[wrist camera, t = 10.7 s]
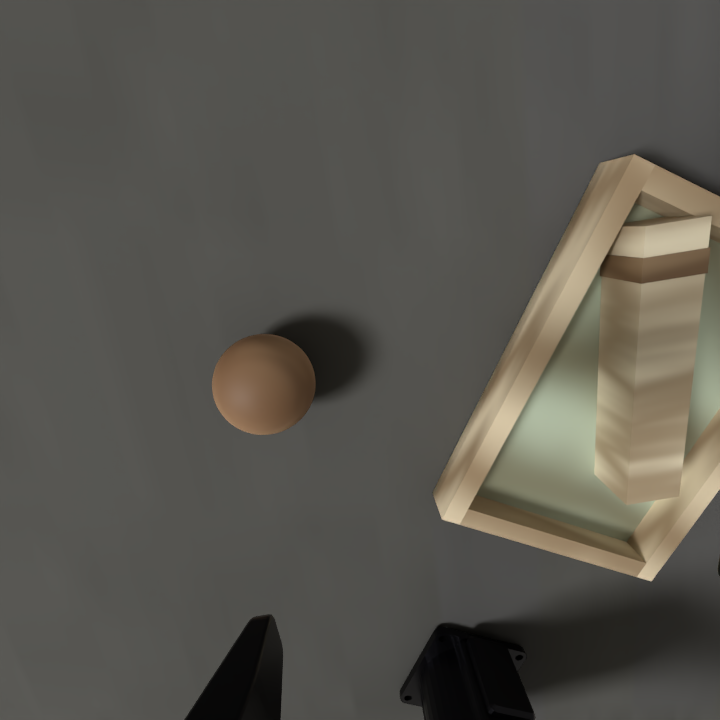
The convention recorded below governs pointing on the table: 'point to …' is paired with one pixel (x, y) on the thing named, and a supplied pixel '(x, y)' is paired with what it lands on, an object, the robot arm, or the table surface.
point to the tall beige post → (648, 354)
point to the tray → (585, 399)
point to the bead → (263, 384)
